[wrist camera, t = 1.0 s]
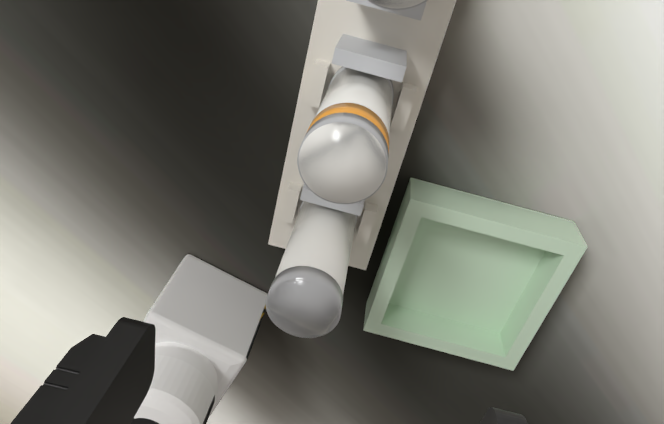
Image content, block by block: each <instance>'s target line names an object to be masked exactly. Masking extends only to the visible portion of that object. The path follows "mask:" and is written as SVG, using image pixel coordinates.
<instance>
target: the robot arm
mask: <svg viewBox="0 0 664 424" xmlns="http://www.w3.org/2000/svg"><path fill="white" fill-rule="evenodd" d="M155 333H156V330H155V325H154V324H150V323H146V322H141V321H137V320H133V319H129V318H125V317H123V318H121V319H119V320H118V322H117V323H116V324H115V325H114V327H113V328H112V329H111V331H110V332H109V334H108V335H107V336H106V337H103V336H99V335H95V334H92V335H90V336H89V337H87V338H86V339H84V340H83V341H81V342H80V343H78V344H77V345H75V346H73V347H72V348H71V349H70V350H69V351H68V353H67V354H66V355H65V356H64V358H63V359H62V360H61V361H60V363H59V364H58V365H57V367H56V370H53V371H52V373H51V374H50V375H49V376H48V378H47V379H46V380H45V381H44V385H43V386H42V385H41V386H40V388H39V389H38V390H37V391H36V393H35V394H34V395H33V396H32V398H31V399H30V400H29V401H28V403H27V404H26V405H25V406H24V408H23V409H22V410H21V411H20V413H19V414H18V415H17V416H16V418H15V419H14V420H13V421H12V422H11V424H131V422H132V420H133V418H134V416H135V415H136V413H137V411H138V409H139V407H140V406H141V404H142V402H143V400H144V399H145V397H146V395H147V393H148V391H149V388H150V386H151V383H152V379H153V375H154V370H155ZM480 424H527V421H526V419H525V417H524V416H523V415H521V414H517V413H513V412H509V411H505V410H501V409H497V408H493V407H490V408H488V409H487V411H486V413H485V414H484V416H483V418H482V420H481V422H480Z"/></svg>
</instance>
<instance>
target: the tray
mask: <svg viewBox="0 0 664 424" xmlns="http://www.w3.org/2000/svg"><path fill="white" fill-rule="evenodd" d="M587 247H588V246H587V244H586V243H585V241H584V239H583V237H582V235H581V233H580V232H579V230H578V228H577V226H576V224H575V222H574V221H571V220H567V219H563V218H559V217H556V216H552V215H548V214H545V213H541V212H537V211H534V210H530V209H526V208H522V207H519V206H515V205H511V204H508V203H504V202H500V201H497V200H493V199H489V198H485V197H482V196H478V195H474V194H471V193H467V192H463V191H460V190H456V189H452V188H448V187H445V186H441V185H437V184H434V183H430V182H426V181H423V180H419V179H415V178H411V177H410V180H409V183H408V186H407V189H406V191H405V194H404V197H403V200H402V203H401V206H400V208H399V211H398V214H397V217H396V220H395V223H394V226H393V228H392V231H391V234H390V237H389V240H388V243H387V245H386V248H385V251H384V254H383V257H382V260H381V263H380V265H379V268H378V271H377V274H376V277H375V280H374V283H373V285H372V288H371V291H370V294H369V297H368V300H367V302H366V310H365V319H364V328H363V331H367V332H371V333H374V334H378V335H382V336H386V337H389V338H393V339H397V340H401V341H404V342H408V343H412V344H415V345H419V346H423V347H427V348H430V349H434V350H438V351H442V352H445V353H449V354H453V355H456V356H460V357H464V358H468V359H471V360H475V361H479V362H483V363H486V364H490V365H494V366H497V367H501V368H505V369H509V370H512V371H514V369H515V367H516V366H517V364H518V362H519V361H520V359H521V357H522V356H523V354H524V352H525V351H526V349H527V347H528V346H529V344H530V342H531V341H532V339H533V337H534V336H535V334H536V332H537V331H538V329H539V327H540V326H541V324H542V322H543V321H544V319H545V317H546V316H547V314H548V312H549V311H550V309H551V307H552V306H553V304H554V302H555V301H556V299H557V297H558V296H559V294H560V292H561V291H562V289H563V287H564V286H565V284H566V282H567V281H568V279H569V277H570V276H571V274H572V272H573V271H574V269H575V267H576V265H577V264H578V262H579V260H580V259H581V257H582V255H583V254H584V252H585V250H586V249H587Z"/></svg>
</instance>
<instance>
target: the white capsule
mask: <svg viewBox="0 0 664 424" xmlns="http://www.w3.org/2000/svg"><path fill="white" fill-rule="evenodd" d="M368 1H369V2H371V3H372V4H374V5H376V6H378V7H381V8H384V9H389V10H405V9H410V8H413V7H416V6H419V5H421V4H423V3H425V2H426V1H428V0H368Z"/></svg>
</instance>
